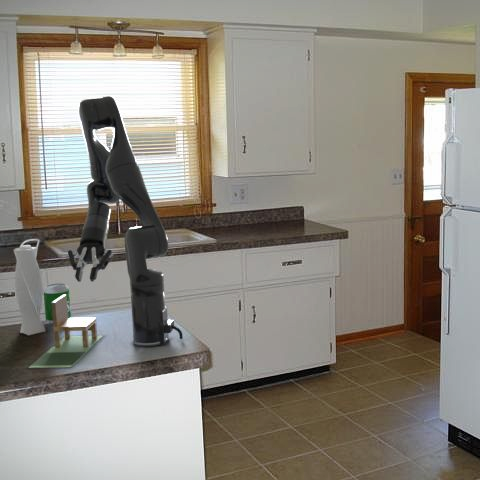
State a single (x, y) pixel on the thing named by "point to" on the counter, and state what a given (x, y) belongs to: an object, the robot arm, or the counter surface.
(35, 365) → the mat
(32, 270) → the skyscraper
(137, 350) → the counter surface
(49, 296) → the soda can
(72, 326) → the chair
